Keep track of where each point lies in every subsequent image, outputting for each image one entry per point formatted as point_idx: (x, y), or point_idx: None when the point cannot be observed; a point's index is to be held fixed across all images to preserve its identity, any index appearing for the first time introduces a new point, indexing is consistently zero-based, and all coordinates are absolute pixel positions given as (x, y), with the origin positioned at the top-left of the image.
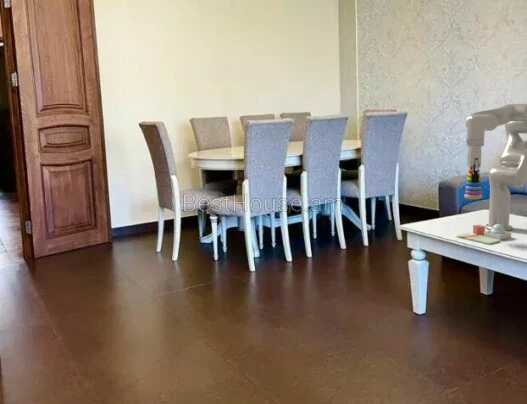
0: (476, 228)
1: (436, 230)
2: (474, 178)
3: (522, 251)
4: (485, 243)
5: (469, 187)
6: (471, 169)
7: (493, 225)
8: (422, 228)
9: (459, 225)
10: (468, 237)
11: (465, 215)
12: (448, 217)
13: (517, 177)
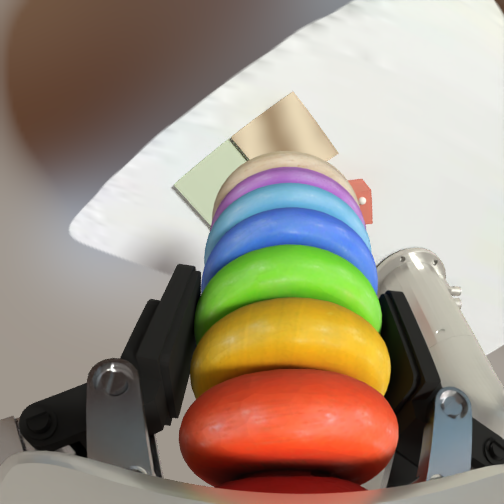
0: None
1: (416, 53)
2: (141, 326)
3: (115, 255)
4: (185, 174)
5: (228, 215)
6: (218, 451)
7: (397, 272)
8: (447, 17)
9: (474, 174)
10: (260, 130)
11: None
12: None
13: (366, 488)
